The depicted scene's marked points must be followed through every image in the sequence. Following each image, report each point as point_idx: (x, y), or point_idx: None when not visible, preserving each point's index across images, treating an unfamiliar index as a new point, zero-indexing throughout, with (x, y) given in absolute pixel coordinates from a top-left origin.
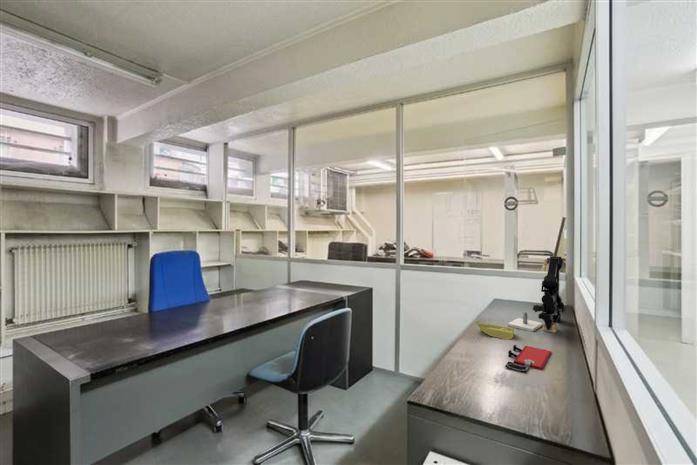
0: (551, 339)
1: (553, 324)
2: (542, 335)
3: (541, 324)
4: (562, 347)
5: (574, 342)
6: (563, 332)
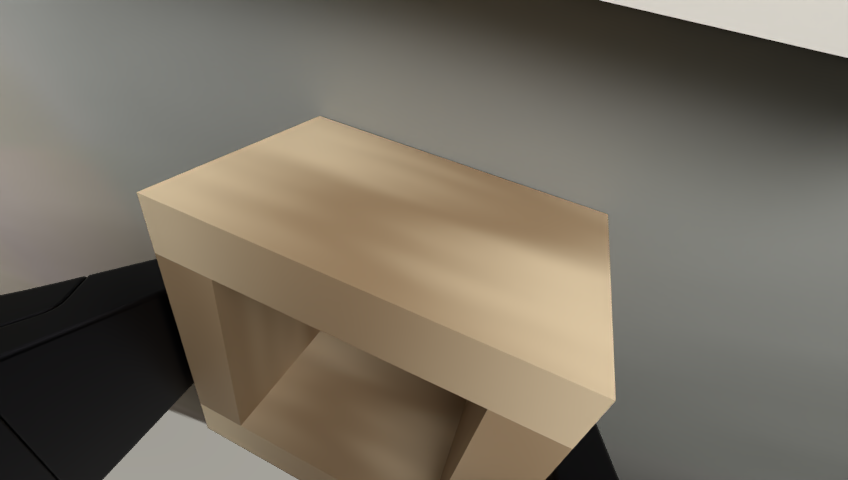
0: (64, 234)
1: (451, 452)
2: (71, 127)
3: (839, 54)
4: (11, 291)
5: (178, 400)
6: None
